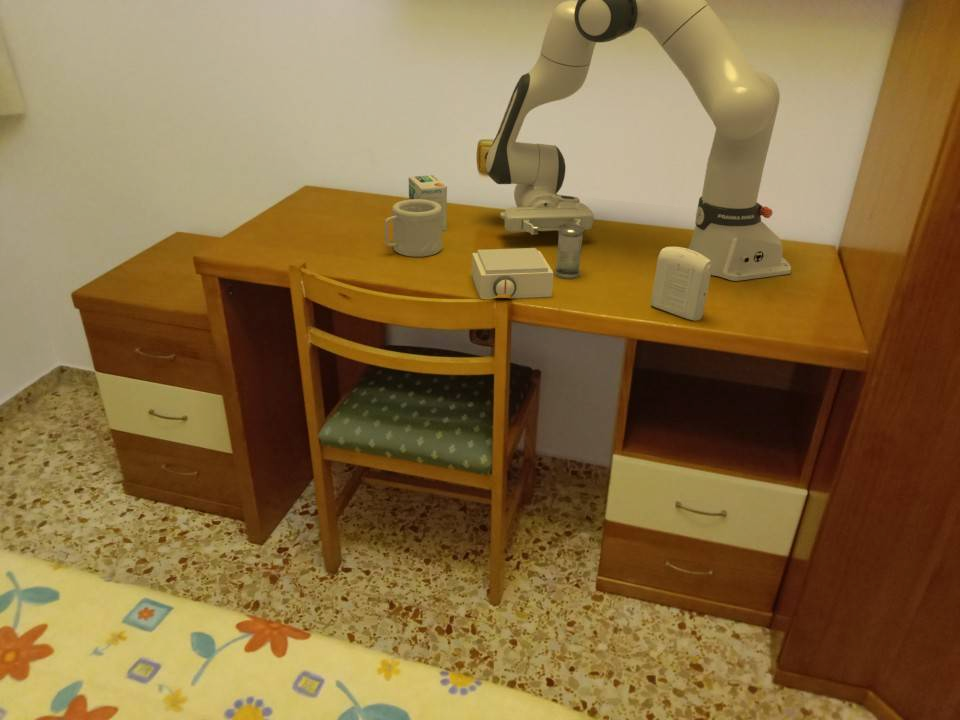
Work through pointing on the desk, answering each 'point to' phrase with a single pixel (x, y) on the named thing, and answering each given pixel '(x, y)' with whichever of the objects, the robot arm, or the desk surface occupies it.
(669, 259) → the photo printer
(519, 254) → the scale
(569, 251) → the glass jar
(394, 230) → the mug
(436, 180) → the light bulb box
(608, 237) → the desk surface
